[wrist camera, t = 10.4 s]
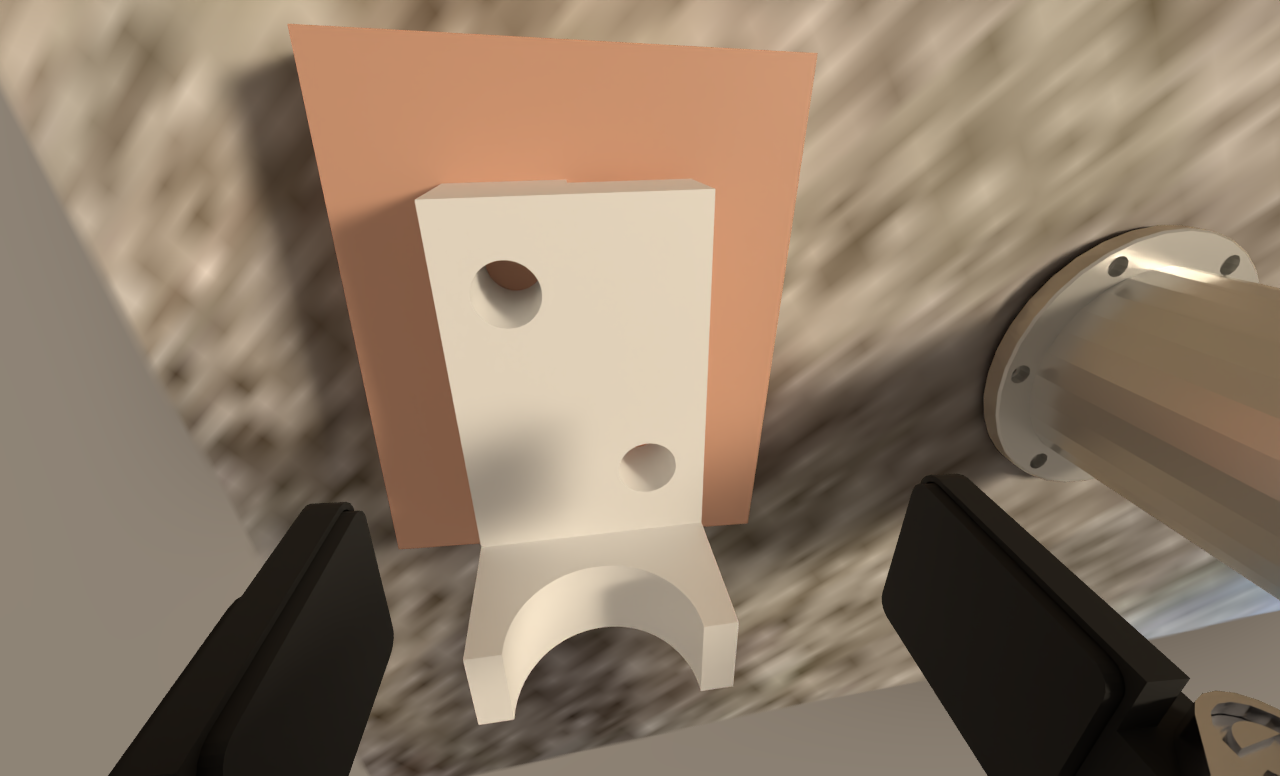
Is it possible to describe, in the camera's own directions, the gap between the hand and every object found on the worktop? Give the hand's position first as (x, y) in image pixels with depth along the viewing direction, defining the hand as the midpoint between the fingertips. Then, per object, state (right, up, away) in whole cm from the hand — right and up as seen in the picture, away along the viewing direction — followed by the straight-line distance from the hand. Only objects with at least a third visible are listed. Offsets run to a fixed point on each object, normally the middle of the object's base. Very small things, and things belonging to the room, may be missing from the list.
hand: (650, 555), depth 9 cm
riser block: (-3, +6, +12) cm, 14 cm away
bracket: (-2, +3, +10) cm, 10 cm away
